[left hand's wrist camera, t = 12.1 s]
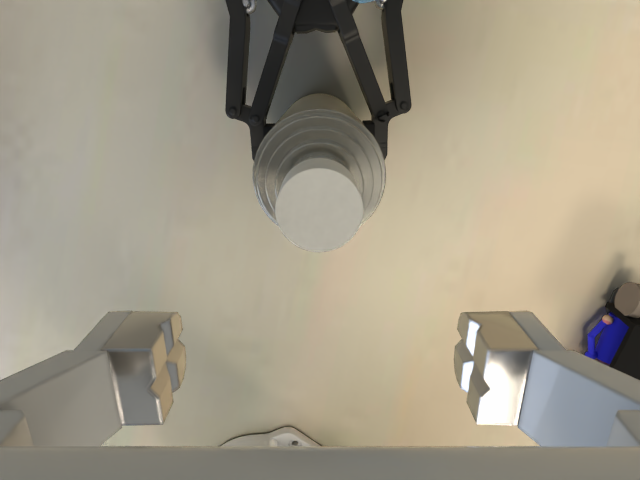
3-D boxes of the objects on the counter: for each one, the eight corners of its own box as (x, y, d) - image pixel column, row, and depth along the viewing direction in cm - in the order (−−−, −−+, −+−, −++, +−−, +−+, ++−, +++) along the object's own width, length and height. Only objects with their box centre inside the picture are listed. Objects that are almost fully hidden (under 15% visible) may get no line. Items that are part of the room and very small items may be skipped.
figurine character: (598, 266, 50) (553, 381, 54) (647, 290, 43) (591, 421, 47) (652, 278, 51) (603, 391, 54) (710, 303, 44) (650, 432, 47)
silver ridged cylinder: (359, 93, 43) (411, 119, 18) (356, 171, 45) (400, 286, 21) (279, 93, 43) (226, 120, 18) (282, 172, 45) (238, 286, 21)
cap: (360, 157, 21) (364, 167, 19) (357, 234, 22) (361, 252, 20) (278, 157, 21) (273, 167, 19) (281, 234, 22) (277, 252, 20)
